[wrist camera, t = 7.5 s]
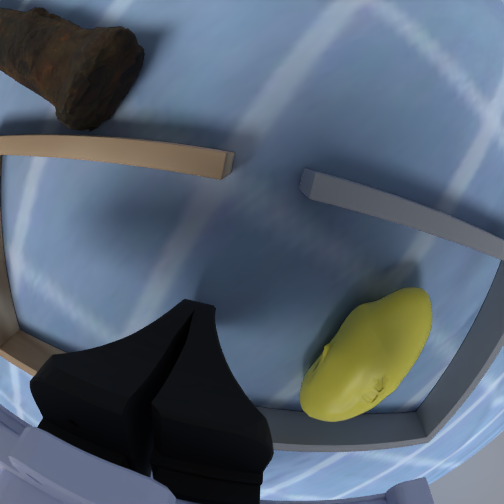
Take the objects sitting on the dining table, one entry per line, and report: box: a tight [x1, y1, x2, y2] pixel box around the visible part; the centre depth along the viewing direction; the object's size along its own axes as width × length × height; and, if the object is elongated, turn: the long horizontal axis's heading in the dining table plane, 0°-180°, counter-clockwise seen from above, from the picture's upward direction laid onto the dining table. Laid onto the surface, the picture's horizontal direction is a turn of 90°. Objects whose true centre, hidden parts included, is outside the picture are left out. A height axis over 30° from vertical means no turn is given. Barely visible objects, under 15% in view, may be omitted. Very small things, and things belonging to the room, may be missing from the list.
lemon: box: [300, 287, 432, 422], centre depth 11 cm, size 4×8×4 cm, turn 145°
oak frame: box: [0, 134, 235, 376], centre depth 11 cm, size 14×14×2 cm
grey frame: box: [255, 168, 504, 452], centre depth 11 cm, size 14×13×2 cm
